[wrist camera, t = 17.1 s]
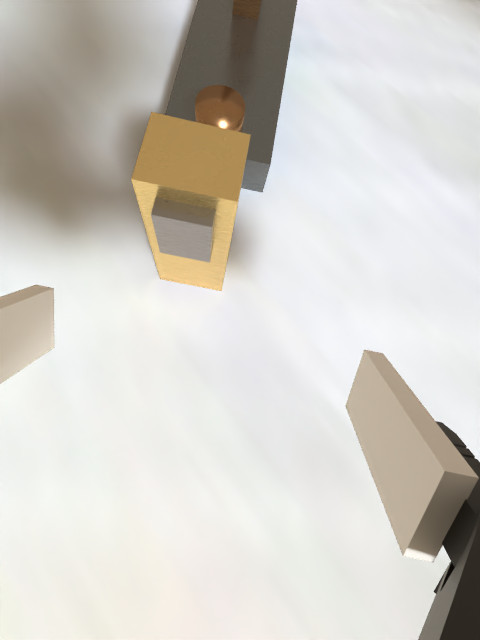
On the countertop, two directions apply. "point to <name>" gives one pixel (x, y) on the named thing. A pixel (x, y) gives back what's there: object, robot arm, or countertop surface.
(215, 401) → the countertop surface
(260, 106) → the hand plane
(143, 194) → the lever cap
